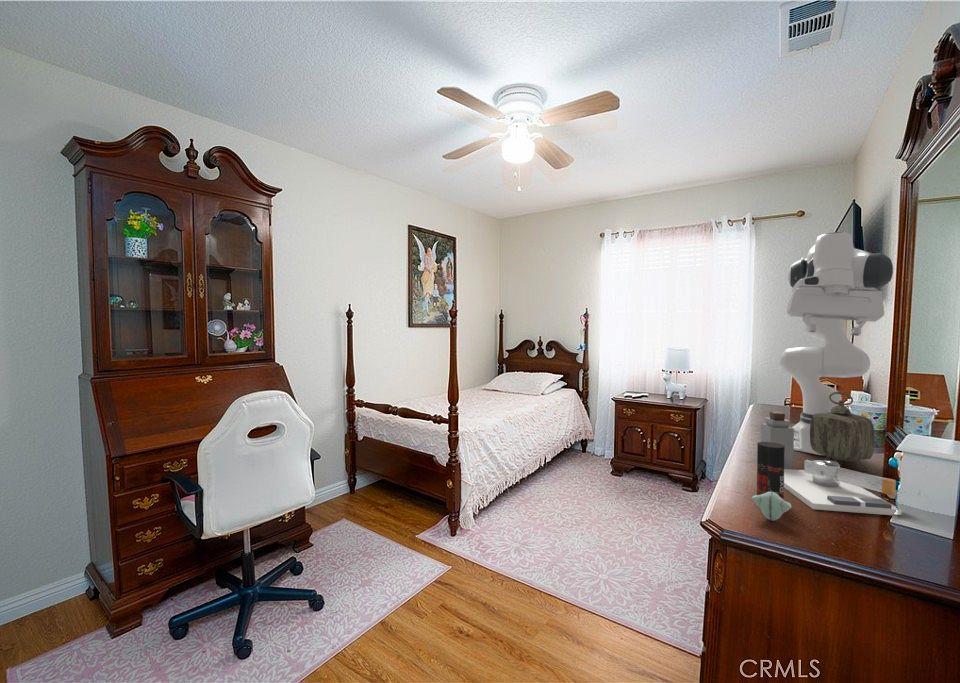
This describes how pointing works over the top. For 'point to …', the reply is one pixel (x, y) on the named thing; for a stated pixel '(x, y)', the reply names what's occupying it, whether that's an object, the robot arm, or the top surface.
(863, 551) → the top surface
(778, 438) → the perfume bottle
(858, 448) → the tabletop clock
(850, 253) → the robot arm
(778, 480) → the deodorant
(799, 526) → the top surface
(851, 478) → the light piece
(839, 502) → the stand
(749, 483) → the top surface
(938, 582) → the top surface
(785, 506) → the mint green pointed piece
